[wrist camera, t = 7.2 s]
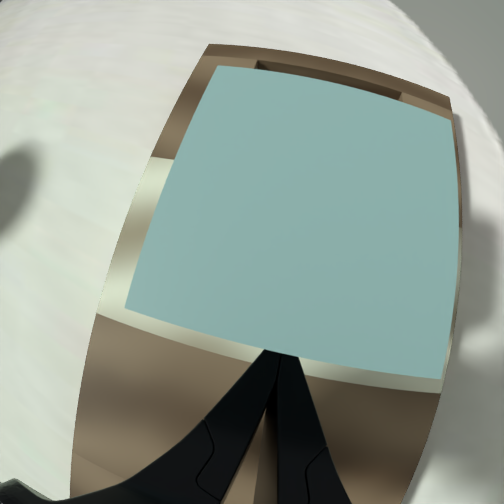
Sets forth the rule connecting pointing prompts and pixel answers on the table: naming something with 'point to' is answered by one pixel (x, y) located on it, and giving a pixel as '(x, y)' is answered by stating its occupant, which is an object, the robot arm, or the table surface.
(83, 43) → the table surface
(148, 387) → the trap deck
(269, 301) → the block
